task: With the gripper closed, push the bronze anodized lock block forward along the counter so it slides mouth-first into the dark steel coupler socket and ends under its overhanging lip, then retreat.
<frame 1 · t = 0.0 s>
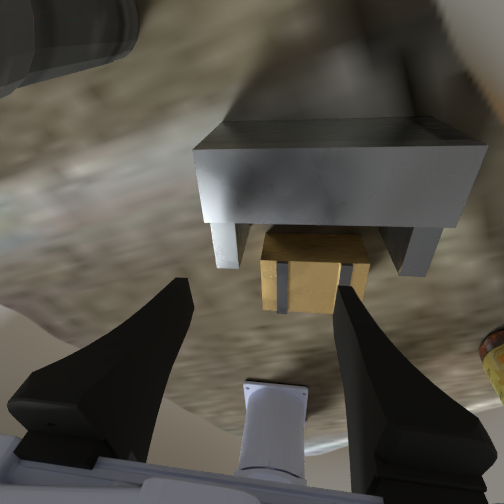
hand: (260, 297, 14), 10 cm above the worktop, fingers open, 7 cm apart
beverage cup: (102, 14, 17), on the worktop
coupler: (316, 180, 21), on the worktop
lock block: (310, 257, 25), on the worktop
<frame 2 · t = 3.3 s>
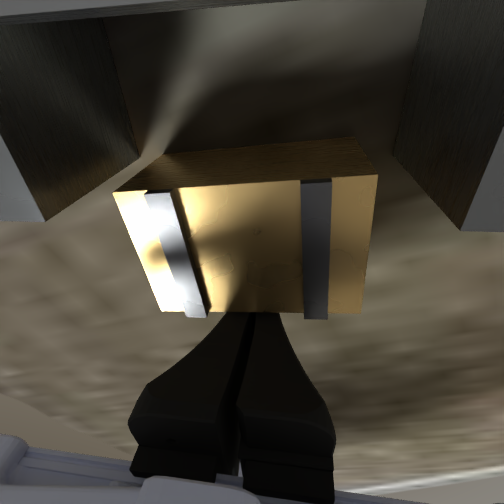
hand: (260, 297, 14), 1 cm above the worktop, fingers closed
coupler: (253, 28, 9), on the worktop
lock block: (259, 204, 13), on the worktop, touching gripper
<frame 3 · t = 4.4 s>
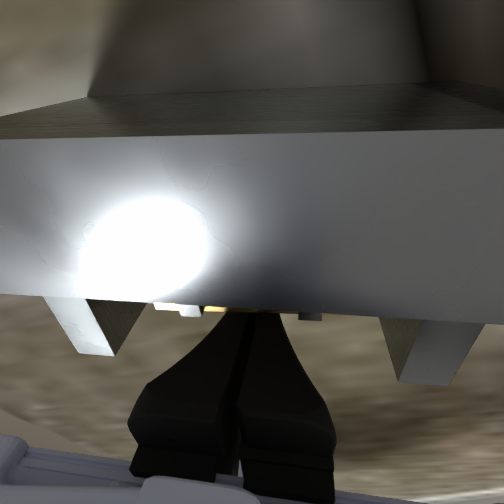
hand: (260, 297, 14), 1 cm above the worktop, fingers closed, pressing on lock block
coupler: (260, 197, 12), on the worktop
lock block: (256, 204, 13), on the worktop, touching gripper
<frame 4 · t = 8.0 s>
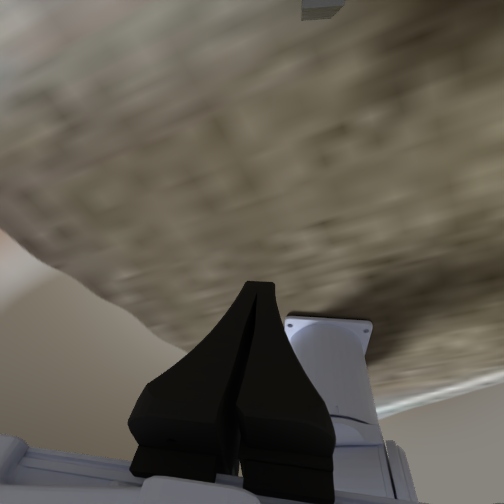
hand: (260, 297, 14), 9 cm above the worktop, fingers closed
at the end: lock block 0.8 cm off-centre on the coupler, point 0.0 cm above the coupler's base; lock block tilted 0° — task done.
